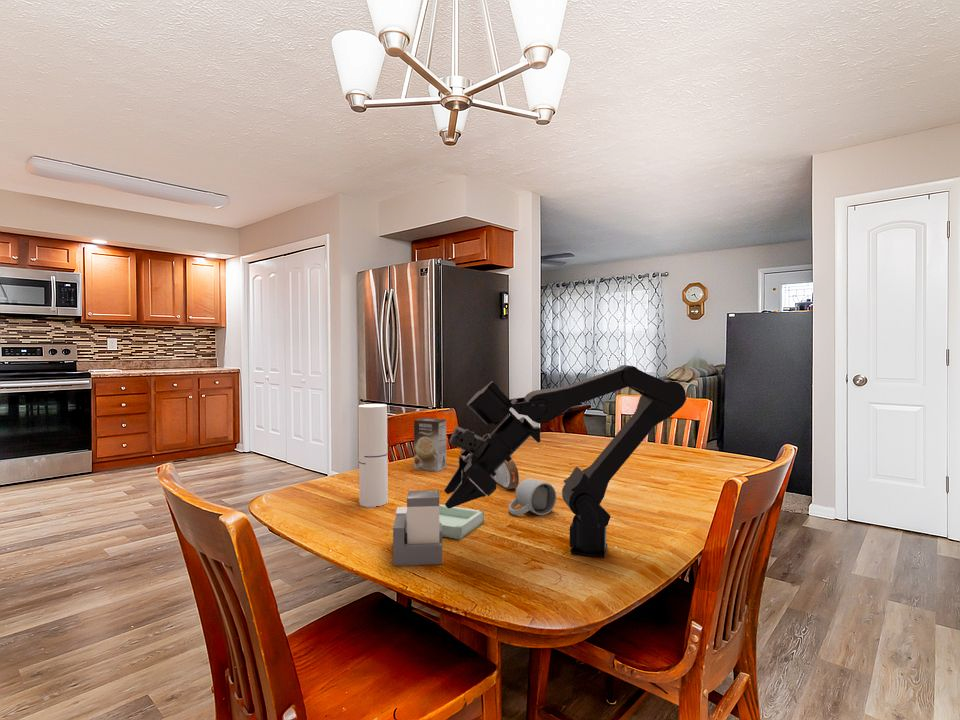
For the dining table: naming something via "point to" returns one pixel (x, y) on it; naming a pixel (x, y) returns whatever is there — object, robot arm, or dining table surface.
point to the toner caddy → (423, 517)
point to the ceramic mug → (533, 497)
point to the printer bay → (413, 545)
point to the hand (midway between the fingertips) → (446, 499)
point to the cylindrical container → (373, 455)
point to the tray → (459, 521)
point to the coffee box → (430, 444)
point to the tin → (507, 475)
